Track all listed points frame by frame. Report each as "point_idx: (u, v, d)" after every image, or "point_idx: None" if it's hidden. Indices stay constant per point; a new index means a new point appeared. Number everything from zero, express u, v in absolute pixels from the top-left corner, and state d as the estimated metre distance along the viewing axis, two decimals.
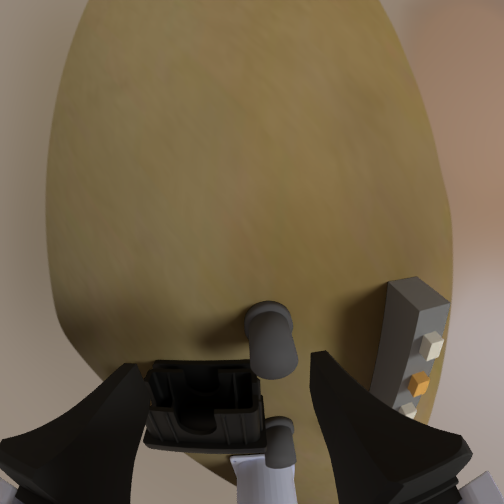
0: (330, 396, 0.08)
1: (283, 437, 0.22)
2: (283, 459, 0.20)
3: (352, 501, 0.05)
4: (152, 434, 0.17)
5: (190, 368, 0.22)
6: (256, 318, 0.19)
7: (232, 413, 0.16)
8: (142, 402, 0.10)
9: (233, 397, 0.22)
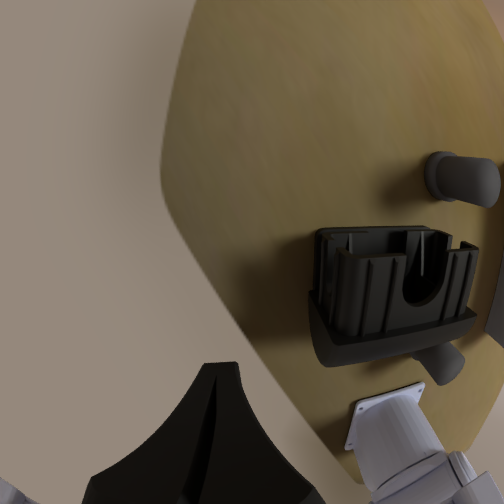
0: None
1: None
2: (455, 363, 0.15)
3: None
4: (350, 325, 0.12)
5: None
6: (445, 159, 0.14)
7: (463, 251, 0.12)
8: None
9: (413, 275, 0.17)
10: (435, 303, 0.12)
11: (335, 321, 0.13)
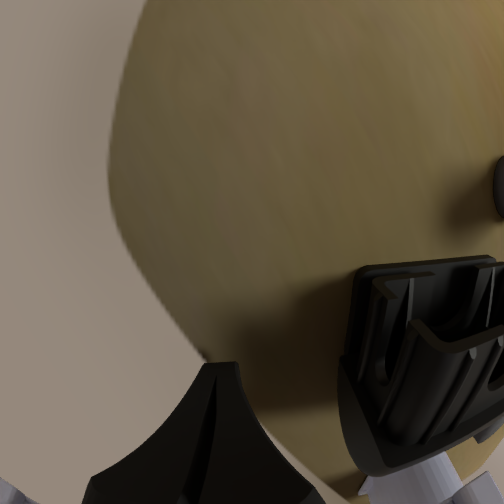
0: None
1: None
2: (501, 419, 0.09)
3: None
4: (412, 436, 0.06)
5: None
6: None
7: None
8: None
9: (474, 324, 0.10)
10: None
11: (387, 425, 0.07)
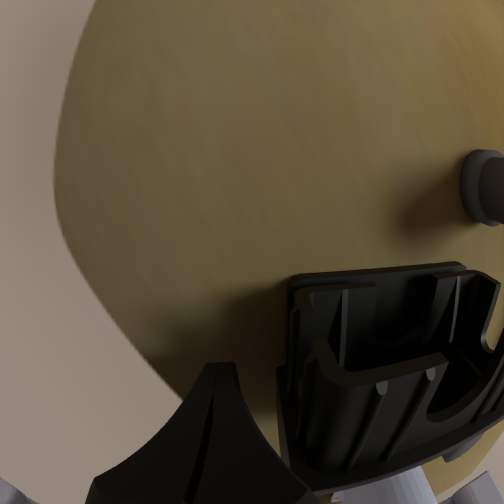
0: None
1: None
2: (472, 439, 0.09)
3: None
4: (326, 463, 0.06)
5: None
6: (492, 161, 0.08)
7: None
8: None
9: (437, 339, 0.10)
10: (471, 407, 0.06)
11: (304, 446, 0.07)
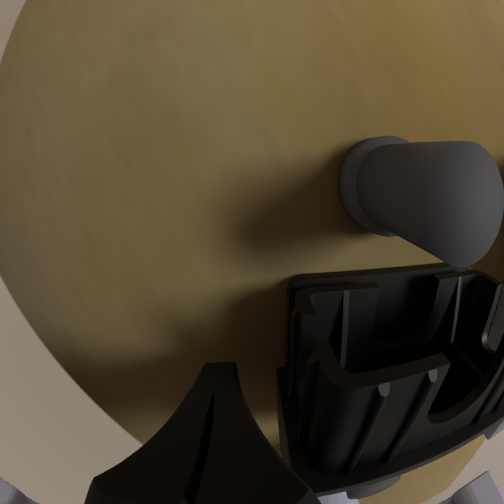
0: None
1: None
2: (382, 481, 0.09)
3: None
4: (328, 464, 0.06)
5: None
6: (377, 150, 0.08)
7: None
8: None
9: (438, 339, 0.10)
10: (472, 408, 0.06)
11: (306, 448, 0.07)
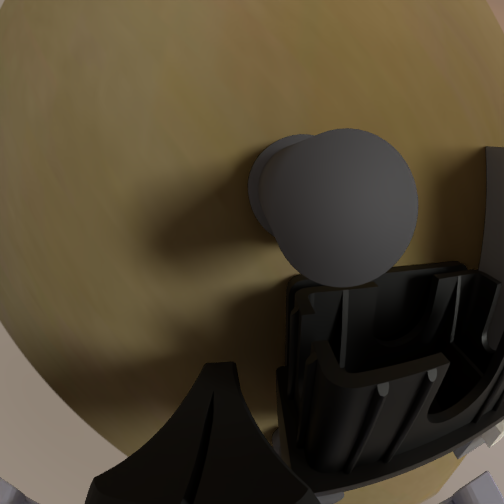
0: None
1: None
2: (321, 498, 0.09)
3: None
4: (327, 464, 0.06)
5: None
6: (277, 152, 0.08)
7: None
8: None
9: (438, 339, 0.10)
10: (472, 407, 0.06)
11: (305, 447, 0.07)
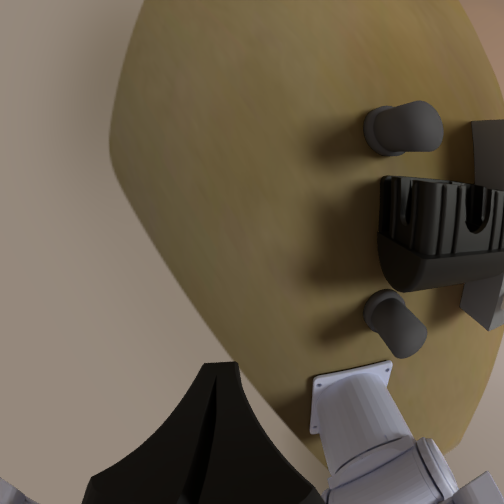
0: None
1: (404, 307, 0.18)
2: (415, 332, 0.16)
3: None
4: (430, 244, 0.13)
5: None
6: (382, 111, 0.15)
7: (500, 191, 0.12)
8: None
9: None
10: (485, 233, 0.13)
11: (415, 244, 0.14)
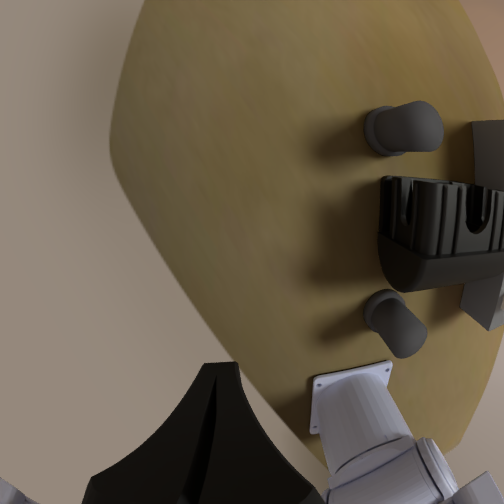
0: None
1: (404, 307, 0.18)
2: (415, 332, 0.16)
3: None
4: (431, 244, 0.13)
5: None
6: (383, 111, 0.15)
7: (501, 191, 0.12)
8: None
9: None
10: (485, 233, 0.13)
11: (416, 244, 0.14)
